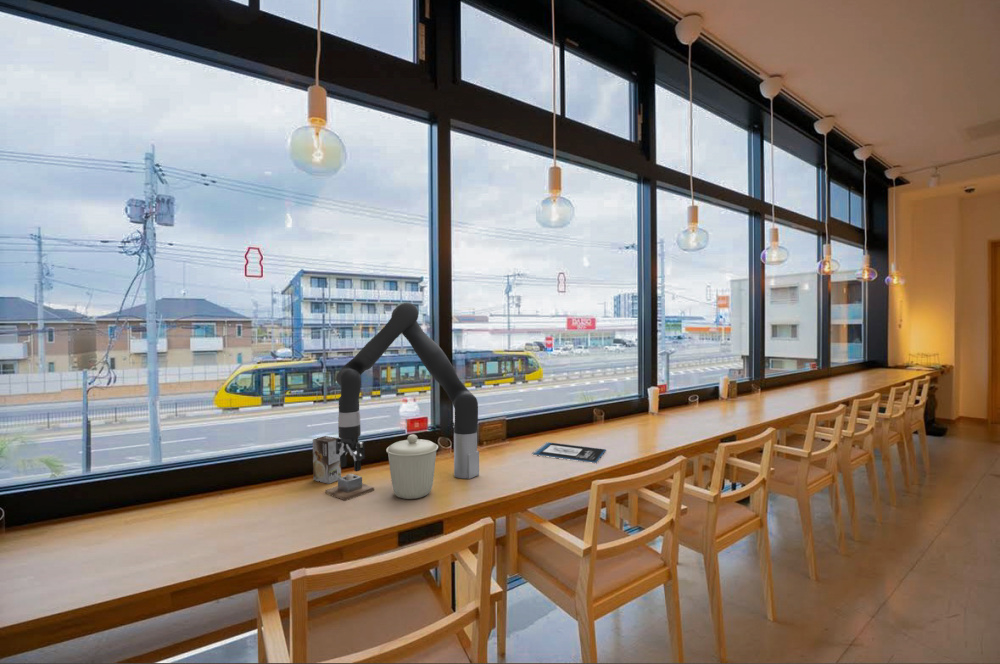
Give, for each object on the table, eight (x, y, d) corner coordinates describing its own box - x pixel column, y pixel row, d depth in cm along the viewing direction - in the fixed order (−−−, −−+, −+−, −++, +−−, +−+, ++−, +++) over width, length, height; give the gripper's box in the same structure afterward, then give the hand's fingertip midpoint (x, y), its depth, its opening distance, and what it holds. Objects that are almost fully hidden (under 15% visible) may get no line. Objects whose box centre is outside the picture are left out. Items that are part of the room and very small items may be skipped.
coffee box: (342, 479, 170) (341, 438, 169) (328, 484, 164) (328, 441, 164) (325, 475, 174) (325, 435, 174) (312, 480, 168) (311, 439, 168)
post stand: (374, 490, 158) (374, 473, 158) (344, 500, 148) (344, 483, 148) (354, 483, 165) (354, 467, 165) (325, 492, 155) (325, 476, 155)
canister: (427, 506, 143) (427, 442, 143) (377, 501, 147) (376, 439, 147) (445, 486, 161) (445, 429, 161) (399, 483, 165) (399, 427, 164)
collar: (362, 488, 157) (362, 477, 157) (347, 493, 152) (347, 481, 152) (352, 484, 161) (352, 473, 161) (337, 489, 156) (337, 478, 156)
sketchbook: (596, 465, 187) (596, 460, 187) (531, 456, 200) (531, 452, 200) (606, 451, 207) (606, 447, 207) (546, 445, 220) (546, 440, 220)
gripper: (370, 424, 155) (371, 469, 155) (346, 419, 163) (347, 462, 163) (352, 428, 149) (353, 475, 149) (328, 423, 157) (329, 468, 157)
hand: (350, 468), depth 156 cm, fingers open, 8 cm apart
